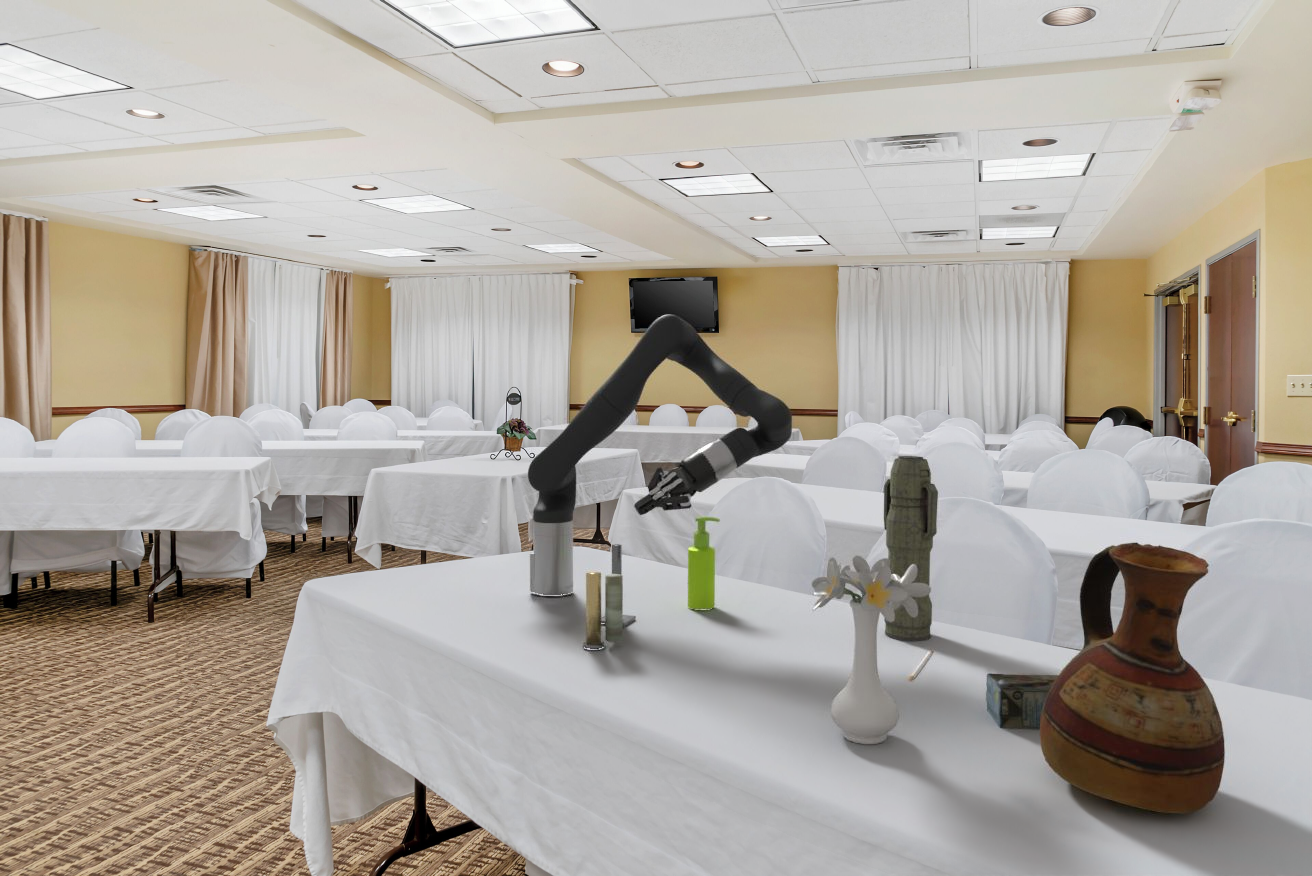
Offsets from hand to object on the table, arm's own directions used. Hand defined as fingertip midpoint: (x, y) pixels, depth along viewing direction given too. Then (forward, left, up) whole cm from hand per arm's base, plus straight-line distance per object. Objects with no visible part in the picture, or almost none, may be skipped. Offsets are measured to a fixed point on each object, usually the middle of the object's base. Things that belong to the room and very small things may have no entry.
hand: (637, 510), depth 178 cm
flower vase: (+50, -39, -24) cm, 68 cm away
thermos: (+51, +15, -24) cm, 59 cm away
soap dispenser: (+7, +21, -24) cm, 33 cm away
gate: (-2, -7, -22) cm, 23 cm away
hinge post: (-6, +3, -24) cm, 25 cm away
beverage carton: (+76, -23, -24) cm, 83 cm away
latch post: (-3, -15, -24) cm, 28 cm away
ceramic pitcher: (+82, -45, -24) cm, 97 cm away
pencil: (+55, -4, -24) cm, 60 cm away
